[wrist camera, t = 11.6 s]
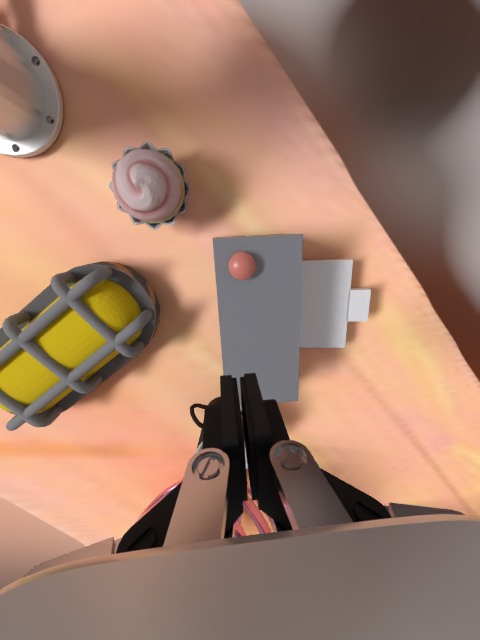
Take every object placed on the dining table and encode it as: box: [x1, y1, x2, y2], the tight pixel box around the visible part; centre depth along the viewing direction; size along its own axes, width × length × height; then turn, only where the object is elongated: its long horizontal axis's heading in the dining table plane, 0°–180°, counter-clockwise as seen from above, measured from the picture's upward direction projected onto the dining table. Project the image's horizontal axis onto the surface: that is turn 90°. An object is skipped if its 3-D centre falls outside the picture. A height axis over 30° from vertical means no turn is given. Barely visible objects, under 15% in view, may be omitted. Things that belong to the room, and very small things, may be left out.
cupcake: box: [109, 141, 190, 230], centre depth 30 cm, size 9×9×10 cm
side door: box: [300, 259, 371, 348], centre depth 40 cm, size 14×1×13 cm
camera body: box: [213, 234, 303, 411], centre depth 36 cm, size 25×10×11 cm, turn 3°
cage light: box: [0, 262, 160, 431], centre depth 37 cm, size 15×8×30 cm
